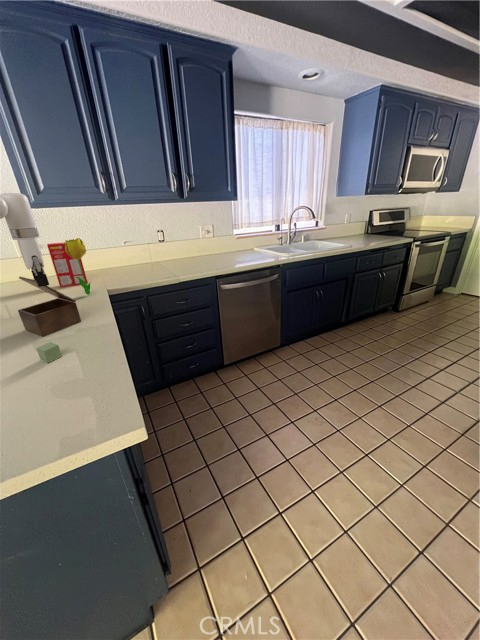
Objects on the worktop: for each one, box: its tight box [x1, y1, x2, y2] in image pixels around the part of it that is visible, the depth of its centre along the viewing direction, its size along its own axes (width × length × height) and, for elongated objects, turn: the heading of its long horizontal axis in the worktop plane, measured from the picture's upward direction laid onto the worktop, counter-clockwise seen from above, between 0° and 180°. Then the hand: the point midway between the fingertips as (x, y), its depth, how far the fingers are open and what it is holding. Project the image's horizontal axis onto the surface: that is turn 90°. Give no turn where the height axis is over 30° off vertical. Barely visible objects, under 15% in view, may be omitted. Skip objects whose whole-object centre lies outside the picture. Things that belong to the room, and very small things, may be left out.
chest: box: [17, 297, 82, 338], centre depth 108 cm, size 16×13×9 cm
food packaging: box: [46, 241, 89, 288], centre depth 159 cm, size 15×5×25 cm, turn 122°
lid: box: [18, 276, 77, 303], centre depth 106 cm, size 16×13×1 cm
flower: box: [64, 237, 92, 296], centre depth 139 cm, size 9×8×30 cm
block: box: [35, 341, 63, 363], centre depth 86 cm, size 4×4×4 cm
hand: (41, 282), depth 96 cm, fingers open, 9 cm apart
